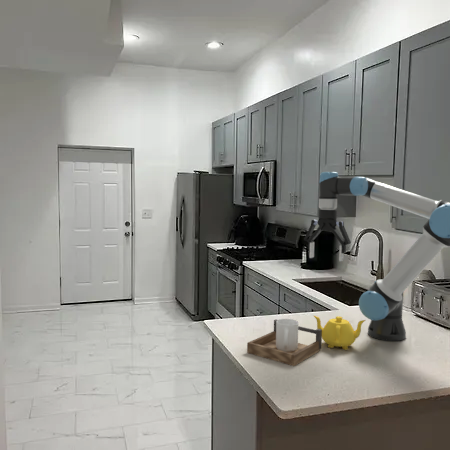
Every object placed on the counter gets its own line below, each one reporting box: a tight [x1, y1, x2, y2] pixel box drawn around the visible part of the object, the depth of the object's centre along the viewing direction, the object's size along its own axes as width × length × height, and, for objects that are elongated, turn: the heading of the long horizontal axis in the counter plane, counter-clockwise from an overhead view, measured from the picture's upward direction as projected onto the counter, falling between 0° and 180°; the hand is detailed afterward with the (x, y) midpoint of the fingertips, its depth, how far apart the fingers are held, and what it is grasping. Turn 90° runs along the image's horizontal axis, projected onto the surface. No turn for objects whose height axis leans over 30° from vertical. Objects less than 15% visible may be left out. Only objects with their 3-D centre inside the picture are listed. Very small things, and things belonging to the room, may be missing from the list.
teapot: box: [313, 315, 366, 351], centre depth 180 cm, size 20×15×12 cm
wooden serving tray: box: [246, 319, 323, 367], centre depth 173 cm, size 20×20×8 cm
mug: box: [276, 318, 299, 352], centre depth 172 cm, size 12×8×10 cm
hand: (326, 259), depth 194 cm, fingers open, 13 cm apart
